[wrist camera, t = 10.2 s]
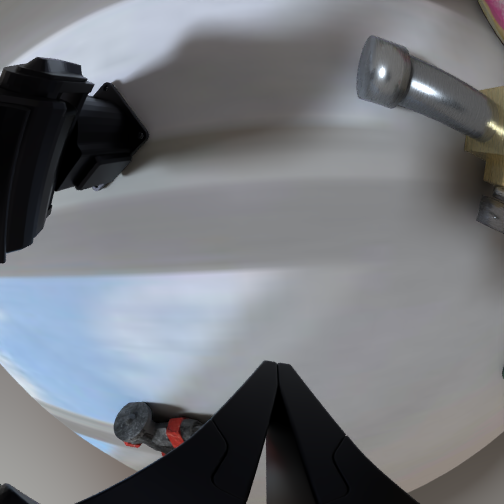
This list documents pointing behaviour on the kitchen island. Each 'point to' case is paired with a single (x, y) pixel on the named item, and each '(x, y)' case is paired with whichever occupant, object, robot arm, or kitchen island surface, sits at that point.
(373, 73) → the pipe valve
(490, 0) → the donut
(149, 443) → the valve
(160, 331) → the kitchen island surface
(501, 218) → the chisel
